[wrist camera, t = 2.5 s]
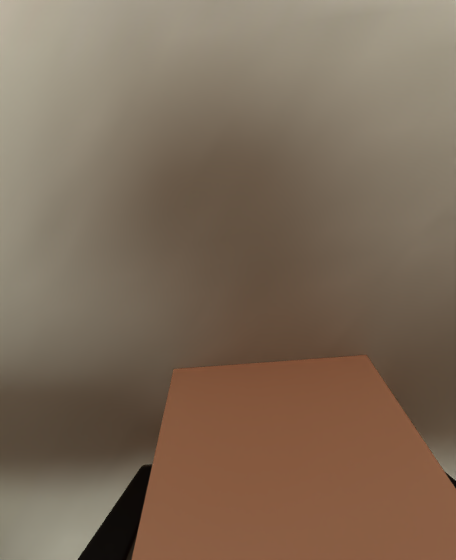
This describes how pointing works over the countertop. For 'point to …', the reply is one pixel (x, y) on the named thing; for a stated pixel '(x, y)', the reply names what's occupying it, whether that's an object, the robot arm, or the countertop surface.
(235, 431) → the cube
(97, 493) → the countertop surface
